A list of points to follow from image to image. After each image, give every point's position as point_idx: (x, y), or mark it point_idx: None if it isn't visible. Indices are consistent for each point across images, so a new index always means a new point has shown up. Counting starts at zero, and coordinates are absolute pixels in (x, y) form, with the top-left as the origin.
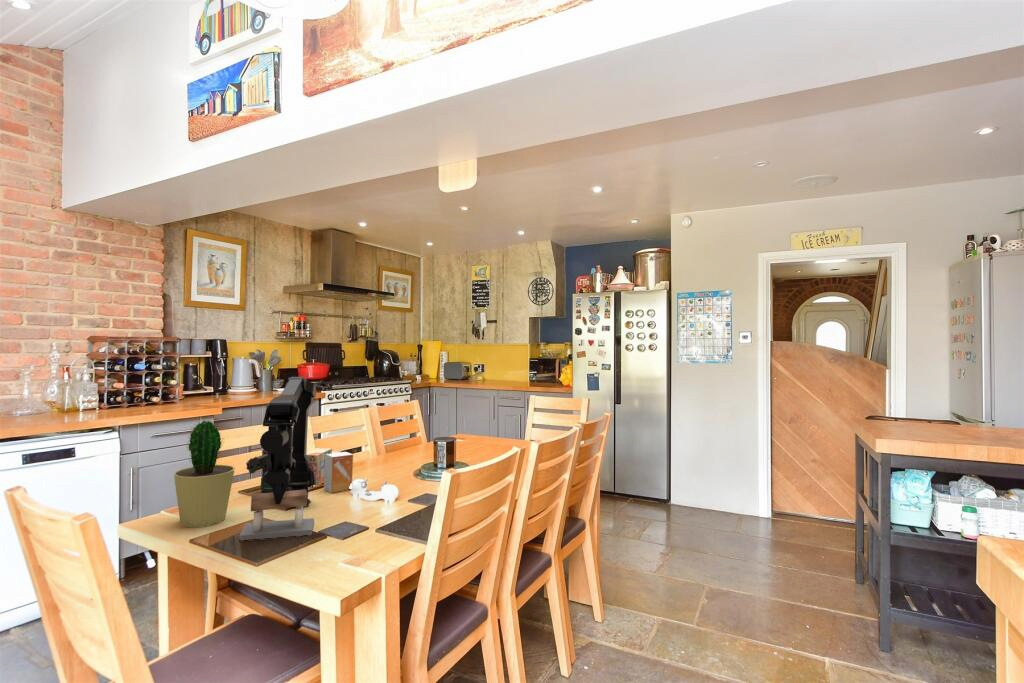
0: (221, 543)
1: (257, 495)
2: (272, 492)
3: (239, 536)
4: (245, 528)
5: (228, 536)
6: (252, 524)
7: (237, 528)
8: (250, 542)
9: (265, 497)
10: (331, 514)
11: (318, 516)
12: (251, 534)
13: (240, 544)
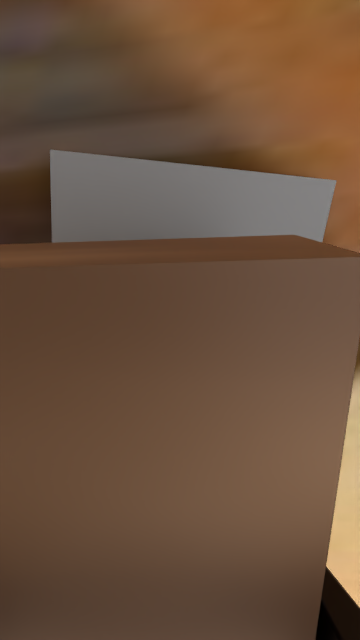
0: (54, 28)
1: (223, 368)
2: (324, 566)
3: (52, 154)
4: (204, 184)
5: (193, 65)
6: (280, 229)
7: (352, 117)
8: (30, 231)
9: (44, 489)
10: (346, 590)
11: (346, 545)
12: (54, 237)
13: (7, 171)
